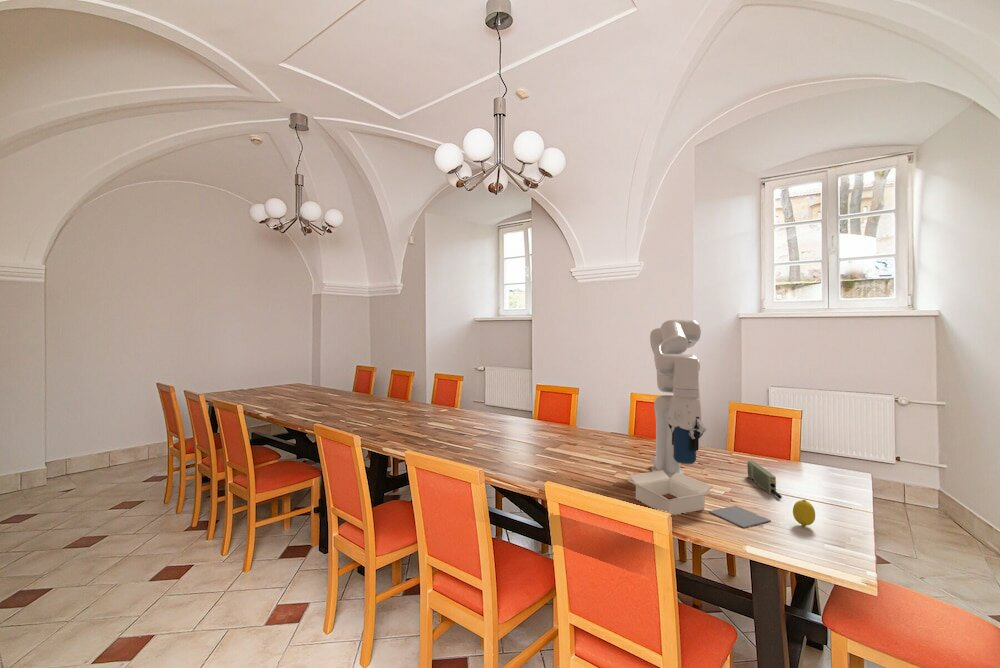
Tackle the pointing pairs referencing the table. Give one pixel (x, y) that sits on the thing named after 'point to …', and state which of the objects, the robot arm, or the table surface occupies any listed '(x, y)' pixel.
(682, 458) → the soda can
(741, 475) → the table surface
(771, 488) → the handheld radio
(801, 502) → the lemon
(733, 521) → the mat
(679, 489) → the carton
